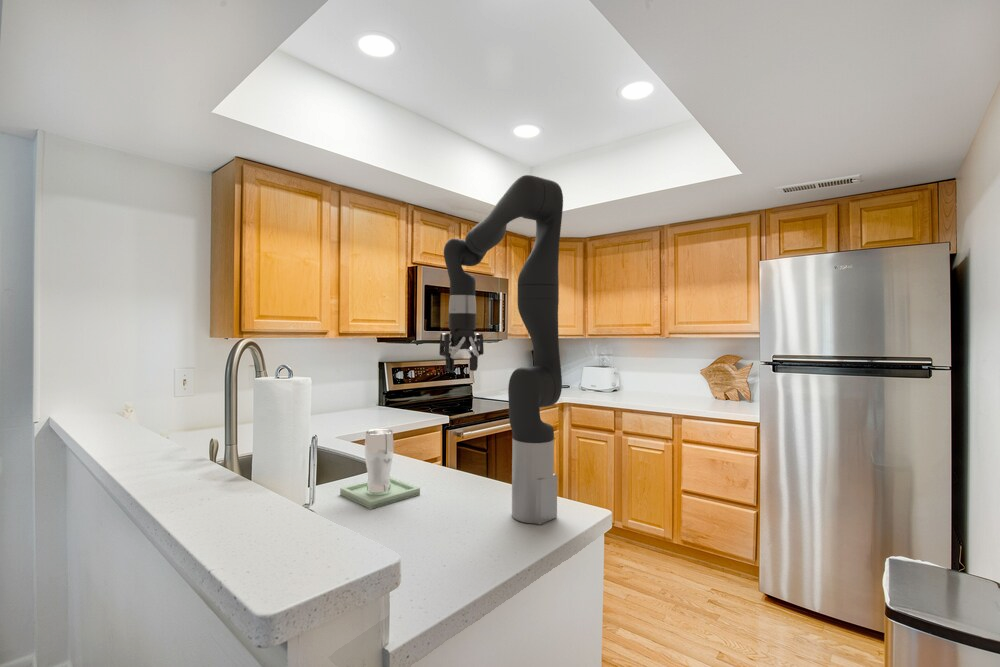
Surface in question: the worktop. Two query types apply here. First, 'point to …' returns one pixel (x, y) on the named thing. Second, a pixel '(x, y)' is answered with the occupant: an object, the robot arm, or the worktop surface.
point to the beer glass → (378, 461)
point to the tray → (397, 493)
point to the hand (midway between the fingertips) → (462, 371)
